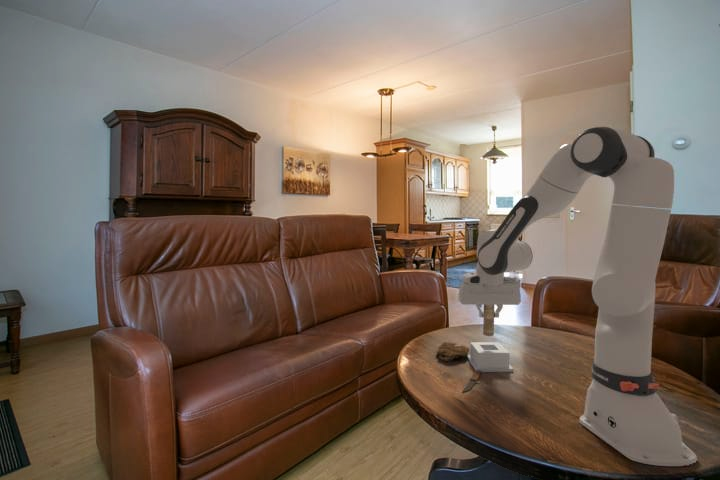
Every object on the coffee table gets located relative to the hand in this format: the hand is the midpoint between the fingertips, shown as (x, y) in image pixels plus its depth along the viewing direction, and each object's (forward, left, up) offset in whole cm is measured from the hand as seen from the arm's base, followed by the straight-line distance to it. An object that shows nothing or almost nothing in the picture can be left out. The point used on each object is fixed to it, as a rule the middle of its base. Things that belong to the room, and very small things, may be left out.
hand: (488, 317), depth 124 cm
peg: (0, 0, -6) cm, 6 cm away
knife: (-14, +9, -17) cm, 24 cm away
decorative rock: (+8, +11, -17) cm, 21 cm away
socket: (0, 0, -17) cm, 17 cm away
